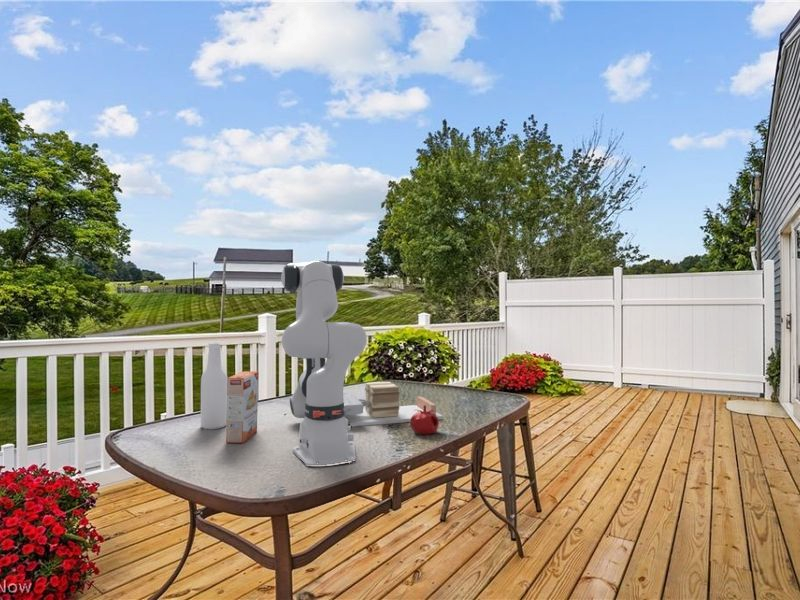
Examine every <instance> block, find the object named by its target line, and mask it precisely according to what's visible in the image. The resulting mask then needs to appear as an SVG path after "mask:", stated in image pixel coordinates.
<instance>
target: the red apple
mask: <svg viewBox="0 0 800 600" xmlns="http://www.w3.org/2000/svg"><path fill="white" fill-rule="evenodd" d="M423 407H424V410H423V412H422V411H420V410H418V412H419V411H420V412H419V413H416V414H414V415H413V416H412V417H411V420H410V422H409V423H410V428H411V429H412V431H414V432H415V433H416V434H418V433H420V434H419V435H432V434H431V433H433V434H435V433H436V432H437V430H438V428H439V424H440V421H439V420H440V419H439V420H438V418H437V417H436V415H435V414H433V412H435V411H433V410H431V411H433V412H432V413H431V411H426V405H424V406H423Z"/></svg>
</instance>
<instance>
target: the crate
mask: <svg viewBox="0 0 800 600" xmlns="http://www.w3.org/2000/svg"><path fill="white" fill-rule="evenodd" d="M364 391H365V399H368V400H369V401H370V405H369V406H365V409H366V411H367V412H368V413H369V414H370V415H371V416H372V417H373V418H377V417H390V416H398V415H399V406H400V405H399V401H400V387H399V386H397V385H396V384H394V383H392V382H391V381H378V382H377V381H376V382H365V387H364Z"/></svg>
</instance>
